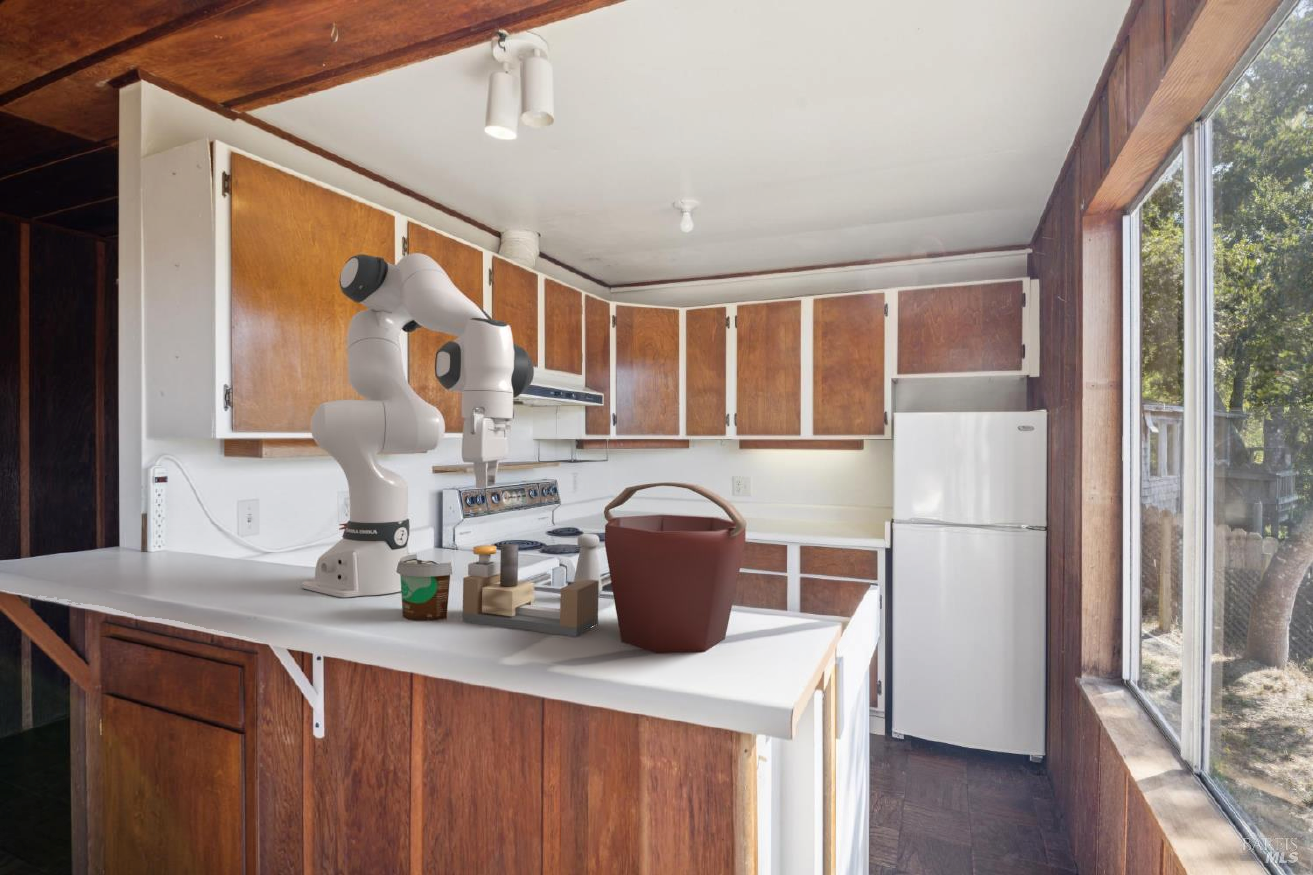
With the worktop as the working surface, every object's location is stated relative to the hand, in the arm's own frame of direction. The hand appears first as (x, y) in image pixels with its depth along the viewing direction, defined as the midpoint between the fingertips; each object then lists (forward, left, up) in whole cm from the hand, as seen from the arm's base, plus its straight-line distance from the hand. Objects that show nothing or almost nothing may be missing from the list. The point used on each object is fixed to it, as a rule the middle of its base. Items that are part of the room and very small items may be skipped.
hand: (486, 486), depth 115 cm
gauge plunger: (0, 0, -14) cm, 14 cm away
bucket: (+35, +3, -23) cm, 42 cm away
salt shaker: (+12, +18, -23) cm, 32 cm away
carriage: (+5, 0, -21) cm, 22 cm away
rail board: (+10, 0, -23) cm, 25 cm away
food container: (-10, -5, -23) cm, 26 cm away
